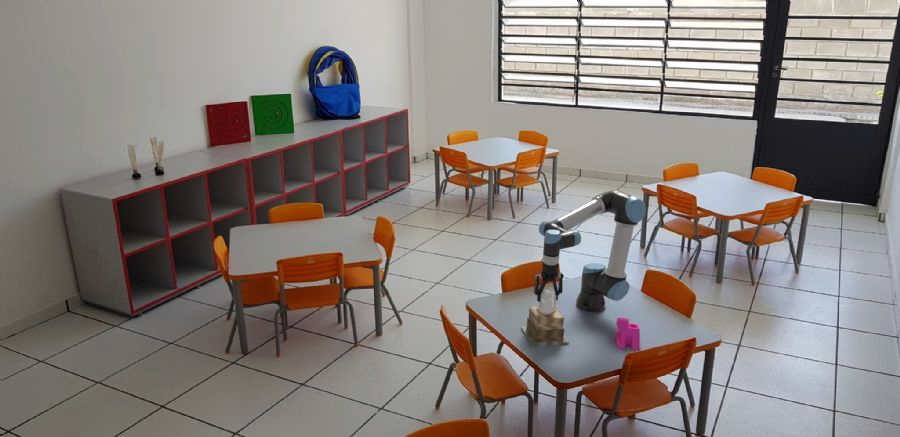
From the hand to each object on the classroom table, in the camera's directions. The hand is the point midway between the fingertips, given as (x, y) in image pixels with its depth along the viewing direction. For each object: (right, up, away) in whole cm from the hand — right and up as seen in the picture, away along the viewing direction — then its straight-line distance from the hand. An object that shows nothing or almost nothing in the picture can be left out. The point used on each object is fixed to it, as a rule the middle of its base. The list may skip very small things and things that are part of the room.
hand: (546, 306), depth 341 cm
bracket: (+39, -18, +1) cm, 43 cm away
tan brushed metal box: (0, -15, +5) cm, 16 cm away
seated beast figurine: (0, -3, +1) cm, 3 cm away
